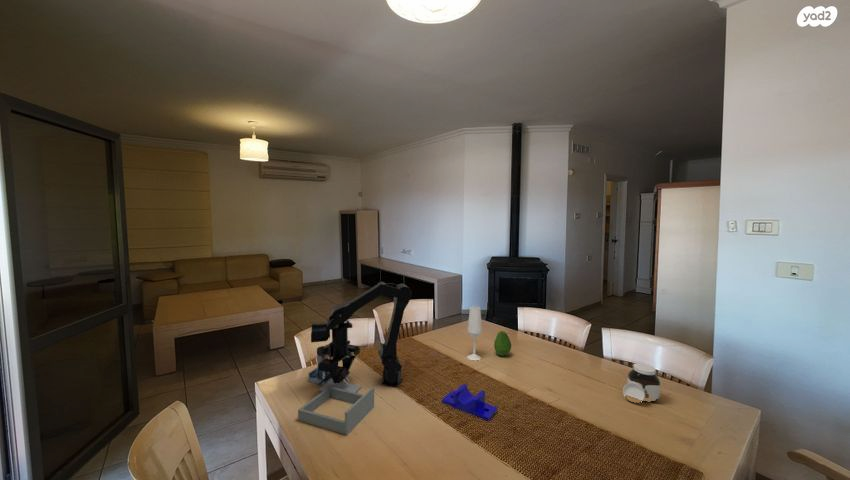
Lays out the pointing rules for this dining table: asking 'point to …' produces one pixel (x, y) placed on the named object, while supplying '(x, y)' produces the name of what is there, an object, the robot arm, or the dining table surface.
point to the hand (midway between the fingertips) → (340, 379)
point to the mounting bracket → (470, 402)
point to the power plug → (342, 376)
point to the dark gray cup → (320, 373)
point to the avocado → (502, 344)
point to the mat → (341, 386)
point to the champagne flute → (474, 329)
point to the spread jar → (642, 382)
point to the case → (352, 415)
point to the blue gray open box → (316, 377)
